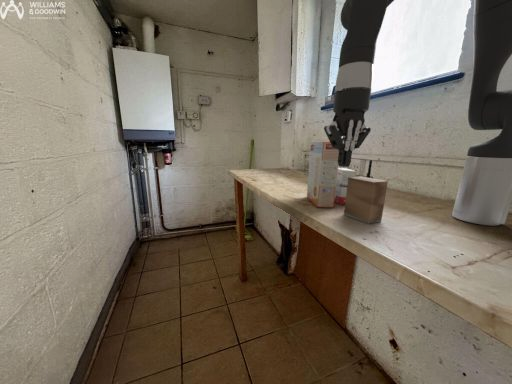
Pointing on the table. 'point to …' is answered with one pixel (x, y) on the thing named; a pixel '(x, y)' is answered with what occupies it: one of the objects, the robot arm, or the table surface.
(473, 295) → the table surface
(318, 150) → the cracker box
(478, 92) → the robot arm
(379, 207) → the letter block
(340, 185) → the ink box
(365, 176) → the walkie-talkie
